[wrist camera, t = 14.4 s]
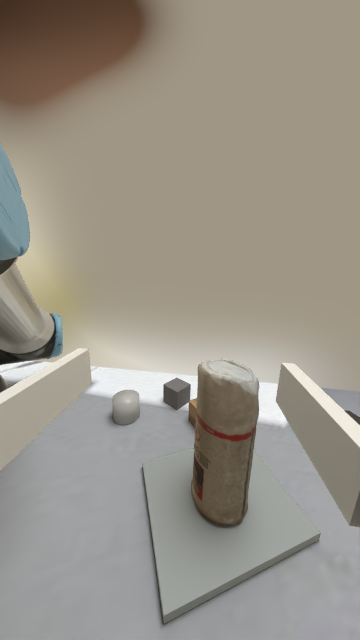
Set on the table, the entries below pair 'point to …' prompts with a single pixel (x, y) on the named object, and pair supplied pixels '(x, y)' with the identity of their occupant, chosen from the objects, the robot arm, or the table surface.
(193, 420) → the walnut block
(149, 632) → the table surface
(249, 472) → the red-banded paper cylinder
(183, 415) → the table surface
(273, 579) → the table surface
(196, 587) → the slate board
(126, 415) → the white rounded cylinder
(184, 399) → the charcoal rubber cube
